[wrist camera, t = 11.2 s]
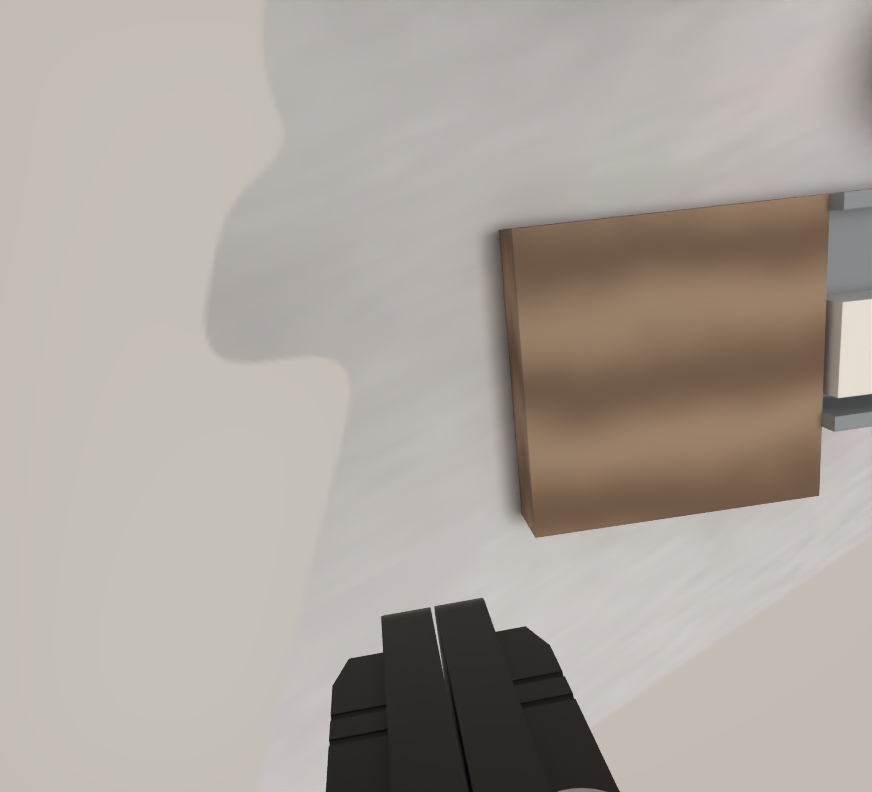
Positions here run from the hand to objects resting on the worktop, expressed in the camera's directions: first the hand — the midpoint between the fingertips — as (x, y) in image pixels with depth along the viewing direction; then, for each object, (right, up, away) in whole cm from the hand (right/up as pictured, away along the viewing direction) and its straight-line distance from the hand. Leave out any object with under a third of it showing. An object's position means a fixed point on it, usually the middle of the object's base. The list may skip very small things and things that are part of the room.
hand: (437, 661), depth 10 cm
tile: (+23, +7, +27) cm, 36 cm away
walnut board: (+12, +6, +27) cm, 30 cm away
